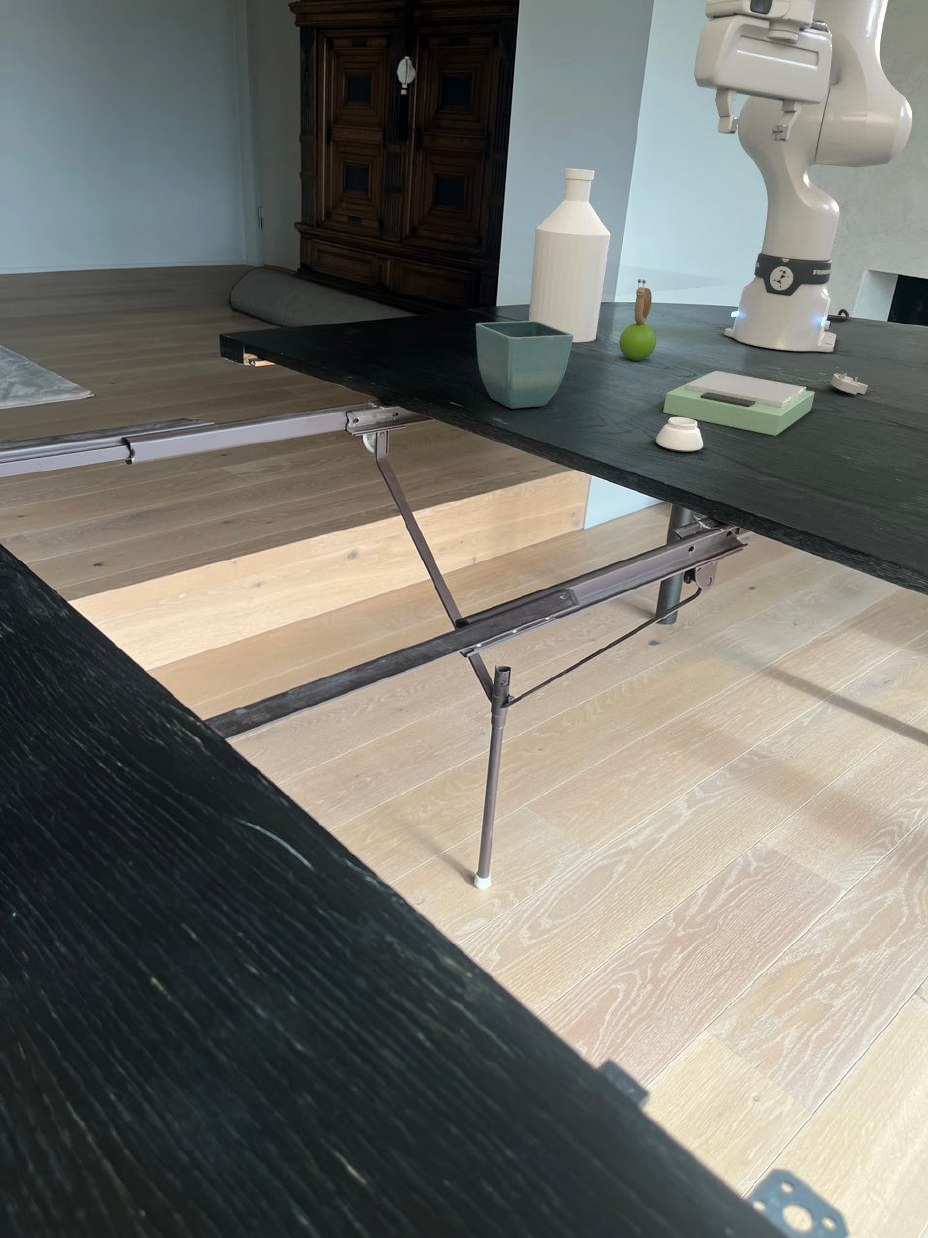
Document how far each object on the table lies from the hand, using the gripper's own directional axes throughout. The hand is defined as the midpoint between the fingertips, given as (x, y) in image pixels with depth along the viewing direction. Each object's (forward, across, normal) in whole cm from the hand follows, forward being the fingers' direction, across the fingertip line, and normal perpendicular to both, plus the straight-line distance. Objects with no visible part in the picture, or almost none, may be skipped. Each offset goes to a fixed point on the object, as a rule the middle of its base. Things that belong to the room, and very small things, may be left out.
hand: (753, 137), depth 121 cm
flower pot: (+32, +33, +1) cm, 46 cm away
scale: (+32, +7, +12) cm, 35 cm away
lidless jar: (+33, +26, +22) cm, 47 cm away
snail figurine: (+30, +1, -15) cm, 34 cm away
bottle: (+30, 0, -35) cm, 46 cm away
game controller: (+31, -15, +7) cm, 35 cm away
